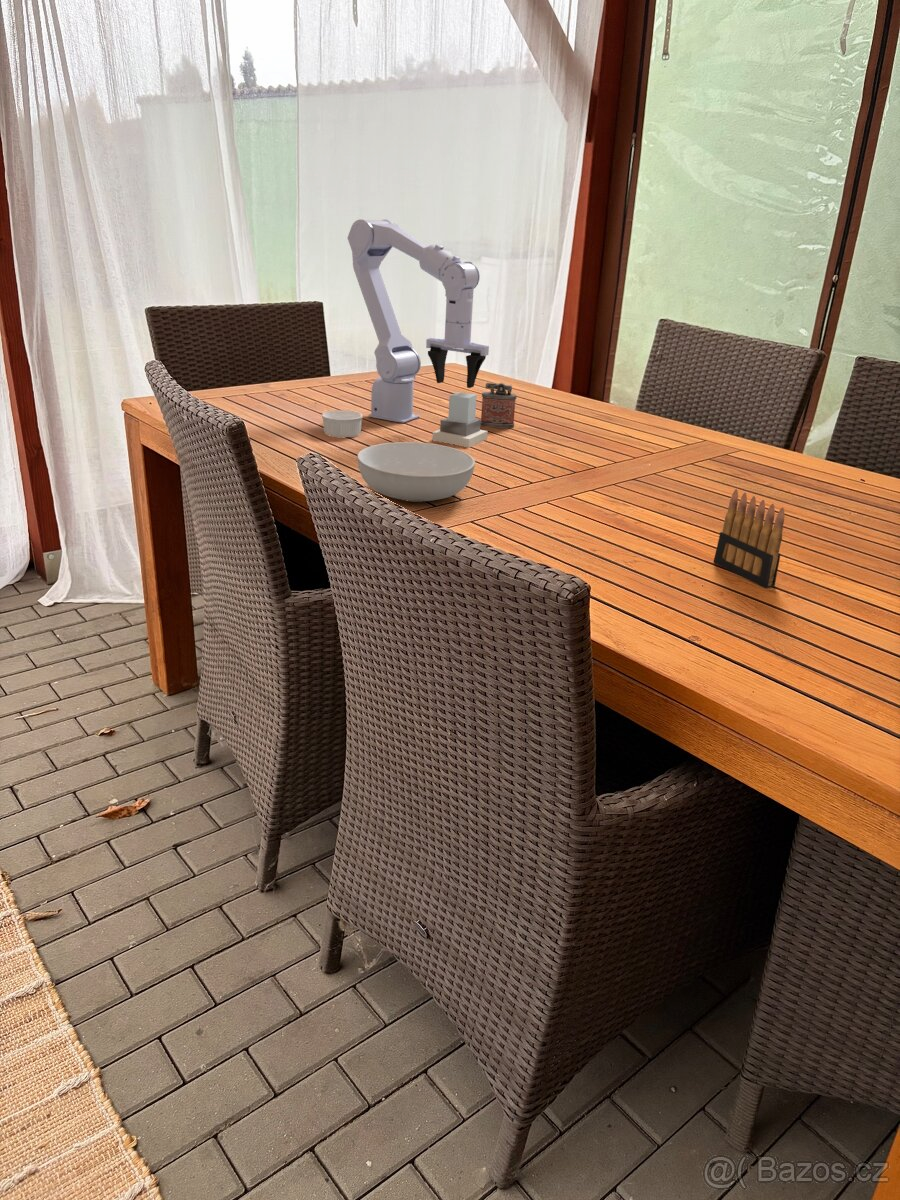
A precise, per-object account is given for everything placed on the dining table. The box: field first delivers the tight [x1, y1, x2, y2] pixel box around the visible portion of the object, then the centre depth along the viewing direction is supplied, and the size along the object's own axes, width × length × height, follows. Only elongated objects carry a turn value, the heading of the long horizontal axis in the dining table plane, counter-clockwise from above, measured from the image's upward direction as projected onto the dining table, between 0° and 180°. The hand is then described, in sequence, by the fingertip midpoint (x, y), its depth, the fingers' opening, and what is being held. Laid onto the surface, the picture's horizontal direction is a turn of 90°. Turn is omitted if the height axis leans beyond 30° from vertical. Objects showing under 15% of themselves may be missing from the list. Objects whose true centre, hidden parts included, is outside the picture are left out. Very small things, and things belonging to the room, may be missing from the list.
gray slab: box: [439, 416, 481, 436], centre depth 195 cm, size 6×6×2 cm
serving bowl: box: [356, 441, 476, 503], centre depth 159 cm, size 21×21×7 cm
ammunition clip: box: [713, 489, 785, 589], centre depth 131 cm, size 11×2×12 cm, turn 29°
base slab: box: [431, 429, 488, 449], centre depth 196 cm, size 9×9×2 cm
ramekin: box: [321, 409, 363, 438], centre depth 195 cm, size 9×9×4 cm
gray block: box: [447, 391, 477, 424], centre depth 193 cm, size 4×4×6 cm
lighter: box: [480, 382, 518, 429], centre depth 207 cm, size 8×3×10 cm, turn 84°
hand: (455, 384), depth 199 cm, fingers open, 7 cm apart
